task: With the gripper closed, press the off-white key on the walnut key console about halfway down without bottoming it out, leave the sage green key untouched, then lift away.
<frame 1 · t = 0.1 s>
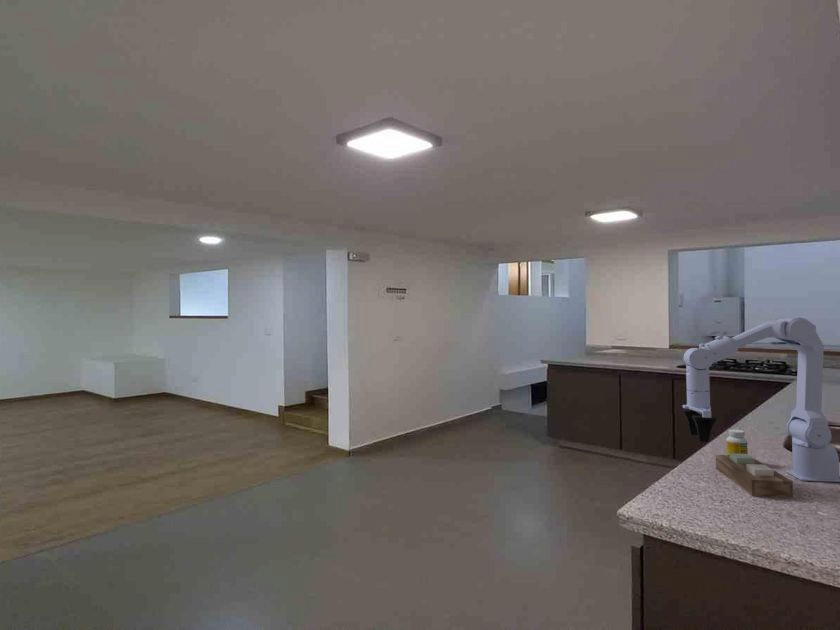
hand: (699, 438, 138), 10 cm above the countertop, tool pointing down, fingers open, 7 cm apart
off white key: (759, 472, 125), point 4 cm above the countertop, slide at 0.0 cm
supplement bottle: (737, 463, 147), on the countertop
key console: (751, 481, 130), on the countertop
sage key: (742, 461, 135), point 4 cm above the countertop, slide at 0.0 cm
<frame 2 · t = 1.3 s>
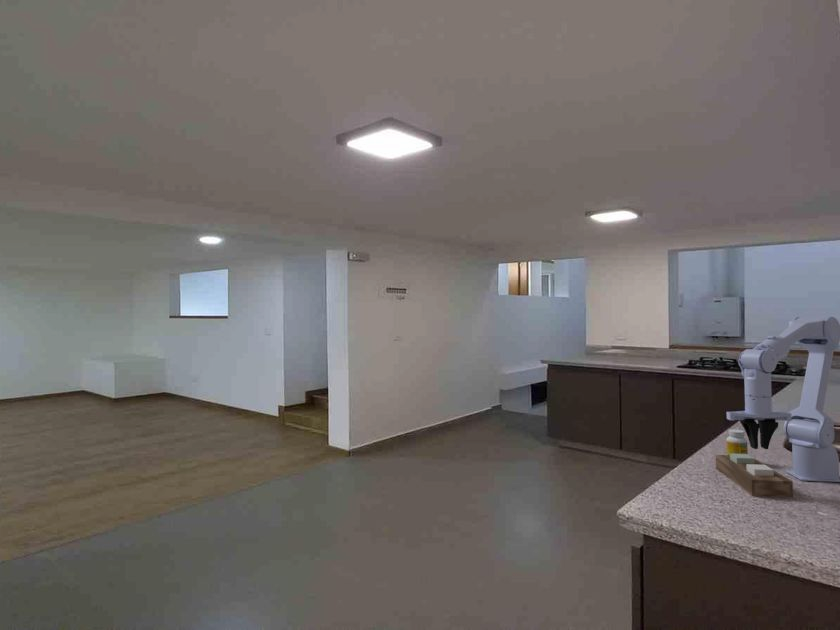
hand: (759, 448, 125), 10 cm above the countertop, tool pointing down, fingers closed
nothing on the countertop moved.
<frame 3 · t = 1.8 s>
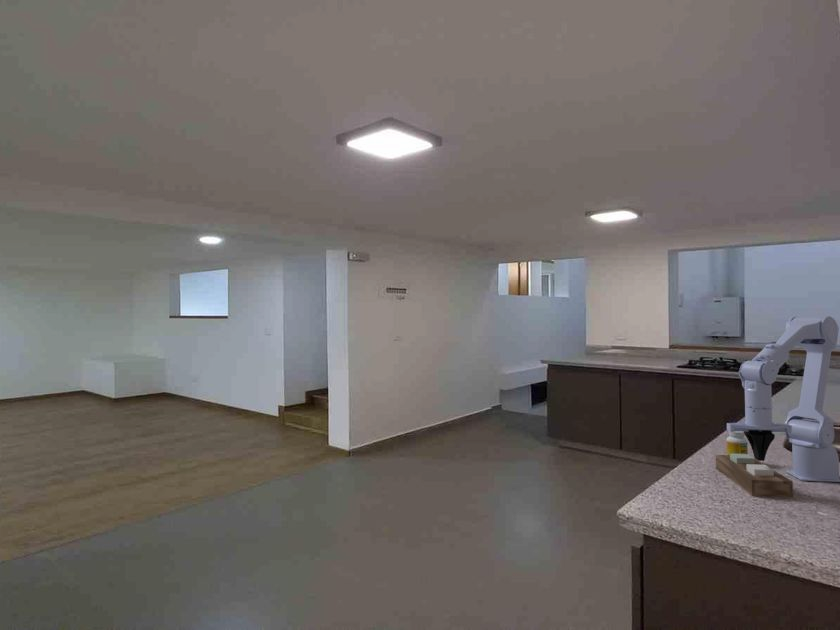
hand: (759, 459, 125), 7 cm above the countertop, tool pointing down, fingers closed
nothing on the countertop moved.
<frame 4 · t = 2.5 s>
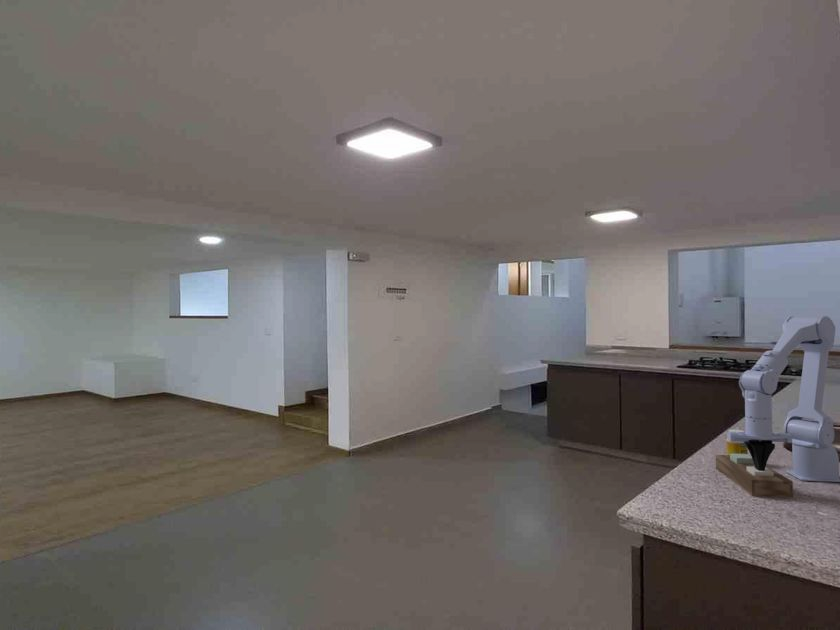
hand: (759, 469, 125), 5 cm above the countertop, tool pointing down, fingers closed, pressing on off white key
off white key: (760, 475, 125), point 3 cm above the countertop, slide at 0.6 cm, touching gripper
everything else where it was.
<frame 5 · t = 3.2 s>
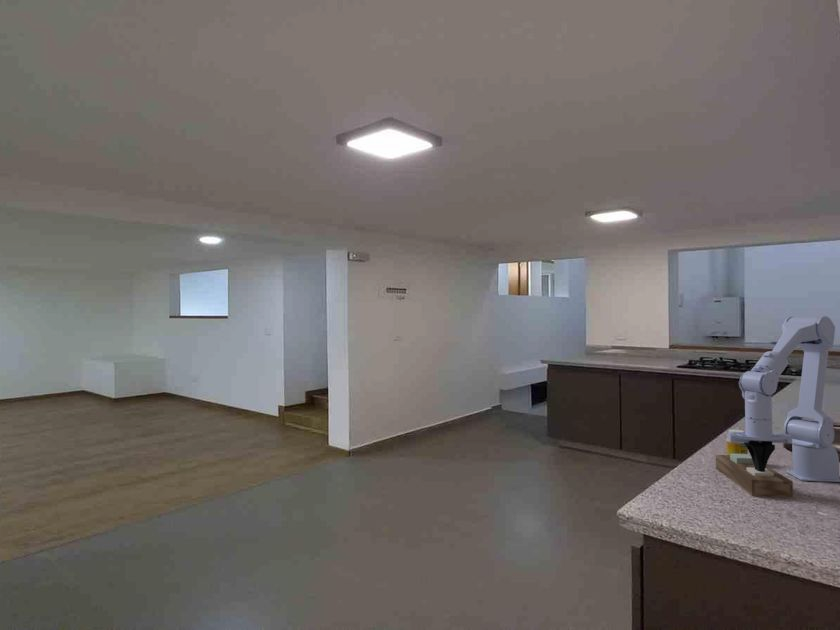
hand: (759, 470, 125), 5 cm above the countertop, tool pointing down, fingers closed, pressing on off white key
off white key: (760, 476, 125), point 3 cm above the countertop, slide at 0.8 cm, touching gripper
everything else where it was.
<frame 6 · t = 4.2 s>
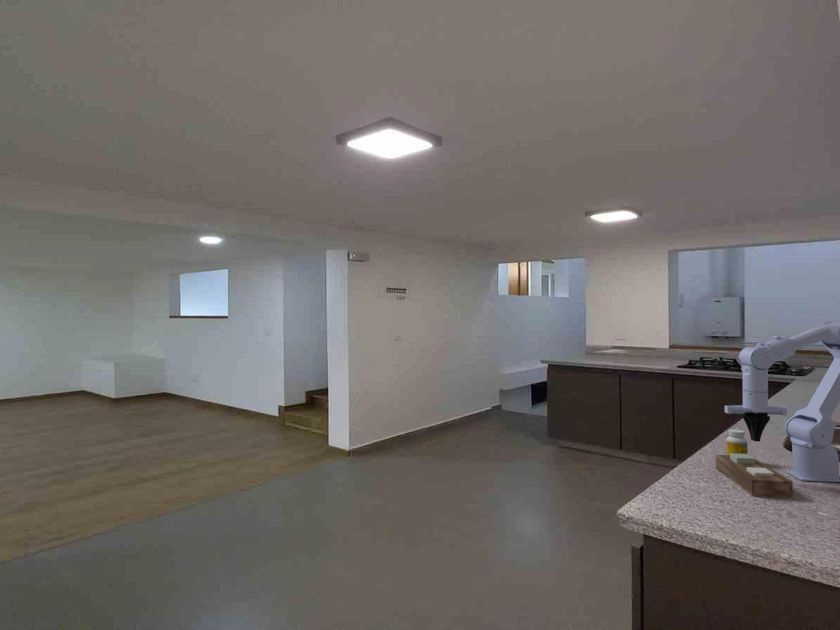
hand: (755, 440, 133), 10 cm above the countertop, tool pointing down, fingers closed
off white key: (760, 476, 125), point 3 cm above the countertop, slide at 0.8 cm
everything else where it was.
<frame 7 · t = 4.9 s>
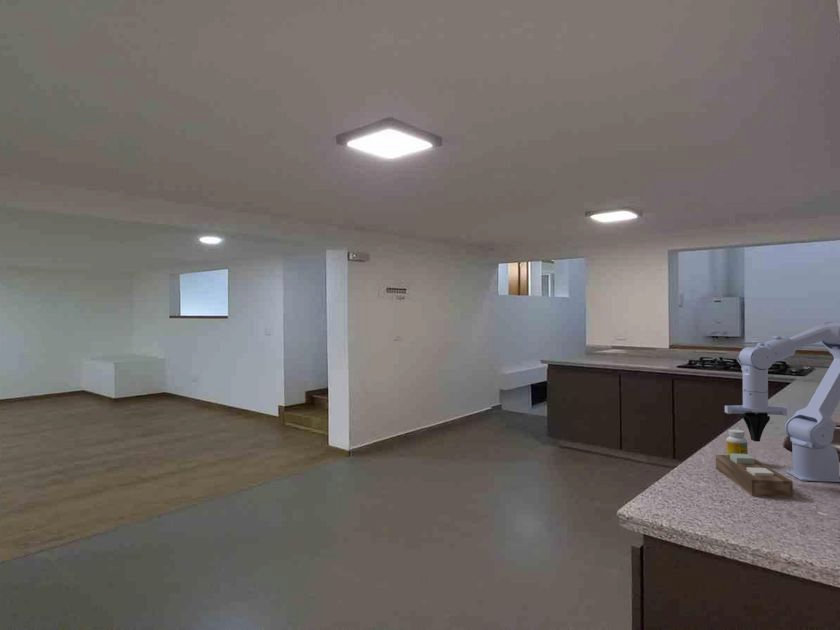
hand: (755, 440, 133), 10 cm above the countertop, tool pointing down, fingers closed
nothing on the countertop moved.
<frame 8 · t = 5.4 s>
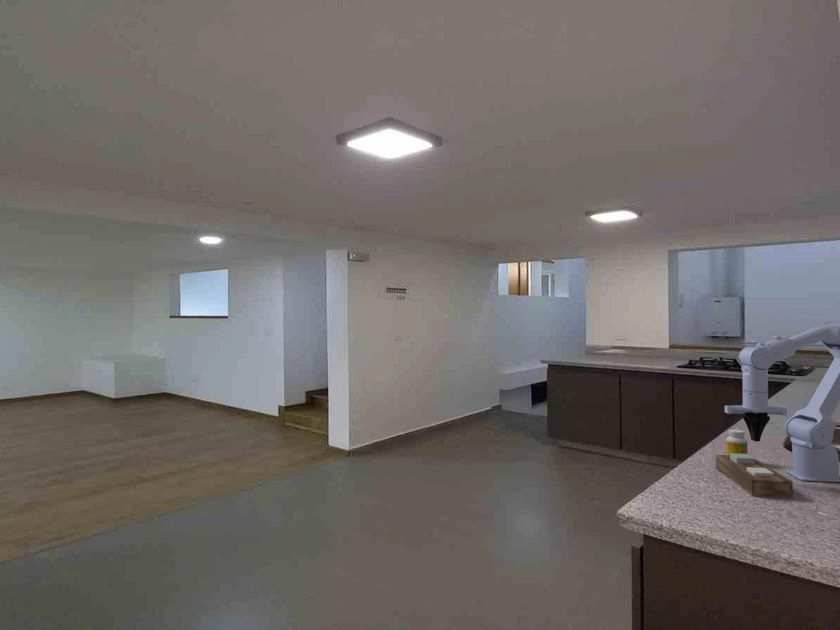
hand: (755, 440, 133), 10 cm above the countertop, tool pointing down, fingers closed
nothing on the countertop moved.
at the end: off white key slide at 0.8 cm; sage key slide at 0.0 cm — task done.
